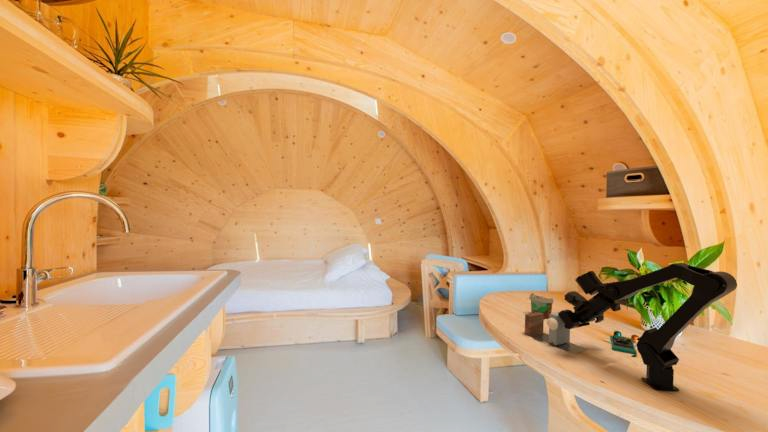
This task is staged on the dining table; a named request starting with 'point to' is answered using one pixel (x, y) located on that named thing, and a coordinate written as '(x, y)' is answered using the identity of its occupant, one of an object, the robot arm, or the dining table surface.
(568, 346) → the base
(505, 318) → the dining table surface
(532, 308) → the food container
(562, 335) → the gauge carriage
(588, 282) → the robot arm
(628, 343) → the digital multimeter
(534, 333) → the brown wooden square slab
